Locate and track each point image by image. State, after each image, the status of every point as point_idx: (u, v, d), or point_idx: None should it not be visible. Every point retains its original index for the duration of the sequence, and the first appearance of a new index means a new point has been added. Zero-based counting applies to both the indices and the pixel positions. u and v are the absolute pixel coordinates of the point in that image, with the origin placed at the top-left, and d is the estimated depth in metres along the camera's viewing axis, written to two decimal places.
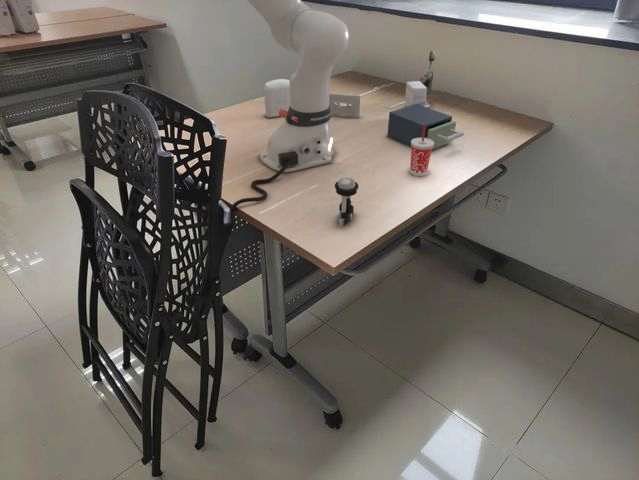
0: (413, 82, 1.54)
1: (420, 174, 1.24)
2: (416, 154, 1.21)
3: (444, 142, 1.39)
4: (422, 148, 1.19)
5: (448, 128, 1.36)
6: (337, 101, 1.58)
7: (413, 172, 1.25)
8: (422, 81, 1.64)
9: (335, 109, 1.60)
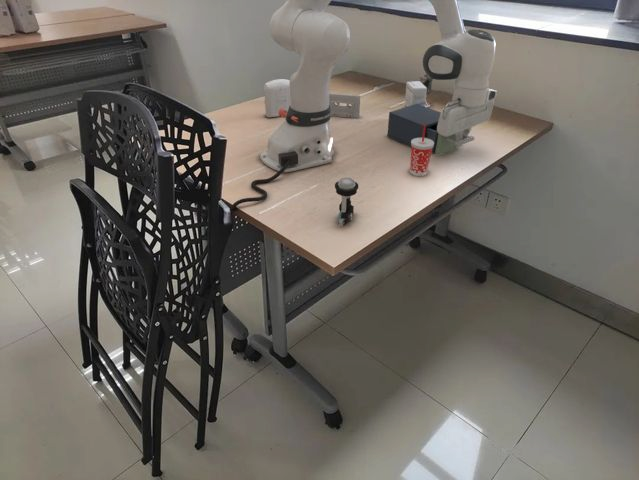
0: (413, 82, 1.54)
1: (420, 174, 1.24)
2: (416, 154, 1.21)
3: (454, 146, 1.36)
4: (422, 148, 1.19)
5: None
6: (337, 101, 1.58)
7: (413, 172, 1.25)
8: (422, 81, 1.64)
9: (335, 109, 1.60)
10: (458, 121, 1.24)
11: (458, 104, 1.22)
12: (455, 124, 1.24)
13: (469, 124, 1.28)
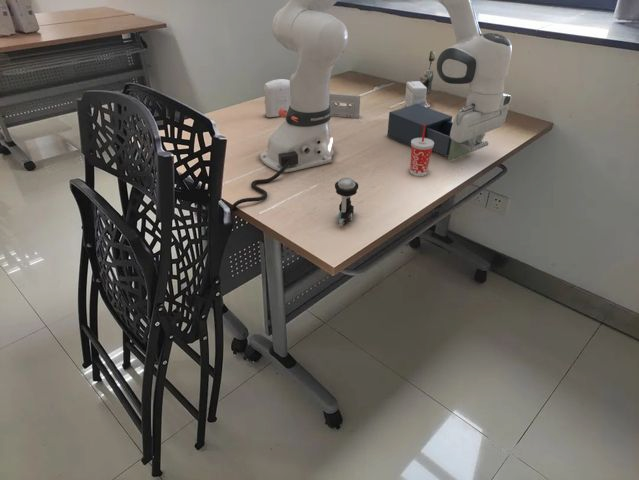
0: (413, 82, 1.54)
1: (420, 174, 1.24)
2: (416, 154, 1.21)
3: (467, 152, 1.33)
4: (422, 148, 1.19)
5: None
6: (337, 101, 1.58)
7: (413, 172, 1.25)
8: (422, 81, 1.64)
9: (335, 109, 1.60)
10: (472, 127, 1.20)
11: (472, 109, 1.19)
12: (469, 130, 1.20)
13: (483, 130, 1.24)
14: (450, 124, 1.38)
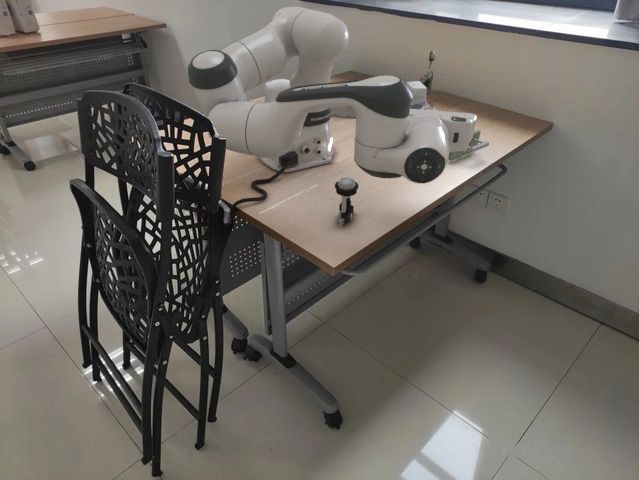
0: (413, 82, 1.54)
1: None
2: None
3: (468, 152, 1.33)
4: None
5: (472, 137, 1.31)
6: None
7: None
8: (422, 81, 1.64)
9: (335, 109, 1.60)
10: None
11: None
12: None
13: None
14: None
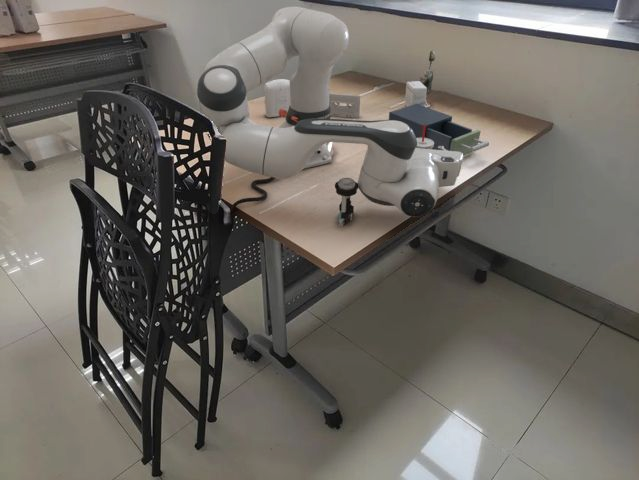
0: (413, 82, 1.54)
1: None
2: None
3: (468, 152, 1.33)
4: (422, 148, 1.19)
5: (472, 137, 1.31)
6: (337, 101, 1.58)
7: None
8: (422, 81, 1.64)
9: (335, 109, 1.60)
10: None
11: None
12: None
13: None
14: (451, 124, 1.37)
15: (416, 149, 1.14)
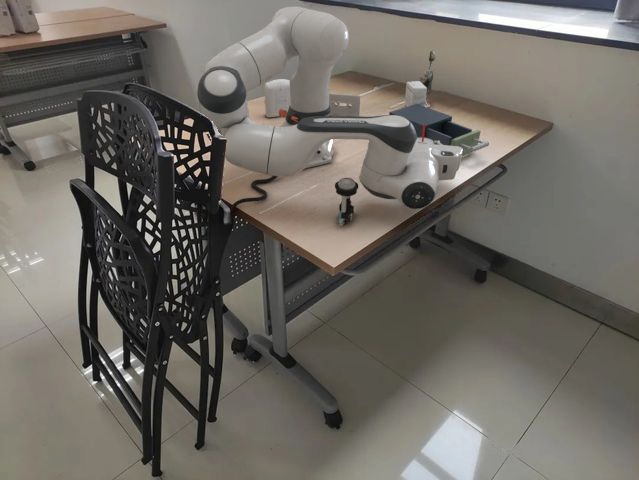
0: (413, 82, 1.54)
1: None
2: None
3: (468, 152, 1.33)
4: None
5: (472, 137, 1.31)
6: (337, 101, 1.58)
7: None
8: (422, 81, 1.64)
9: (335, 109, 1.60)
10: None
11: None
12: None
13: None
14: (451, 124, 1.37)
15: (417, 144, 1.16)
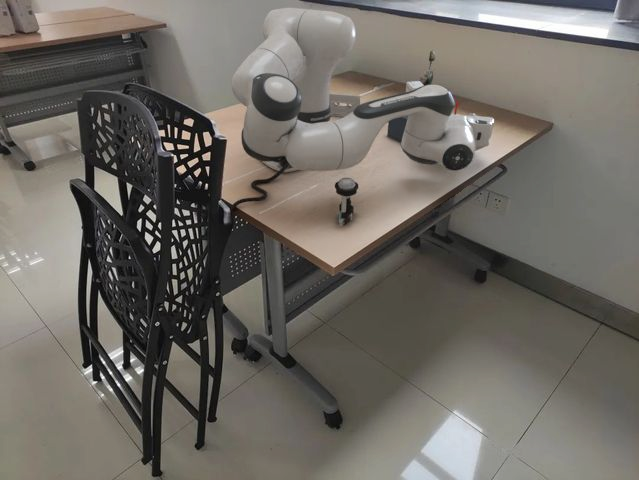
0: (413, 82, 1.54)
1: None
2: None
3: None
4: None
5: None
6: (337, 101, 1.58)
7: None
8: (422, 81, 1.64)
9: (335, 109, 1.60)
10: None
11: None
12: None
13: None
14: None
15: (451, 115, 1.25)
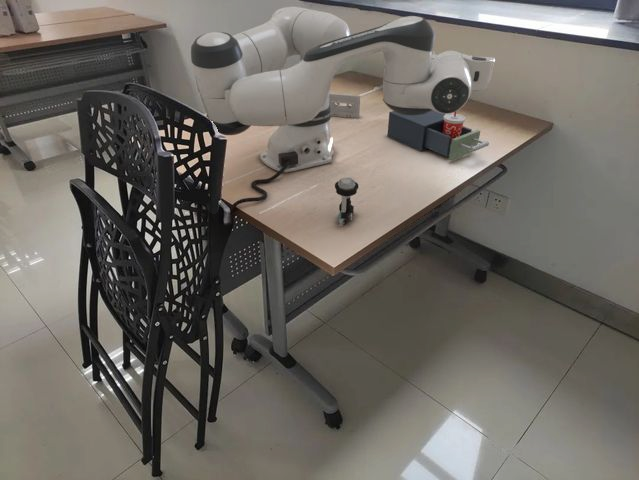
0: None
1: None
2: (449, 129, 1.30)
3: (467, 152, 1.33)
4: (454, 122, 1.28)
5: (472, 137, 1.31)
6: (337, 101, 1.58)
7: None
8: None
9: (335, 109, 1.60)
10: None
11: None
12: None
13: None
14: None
15: None
